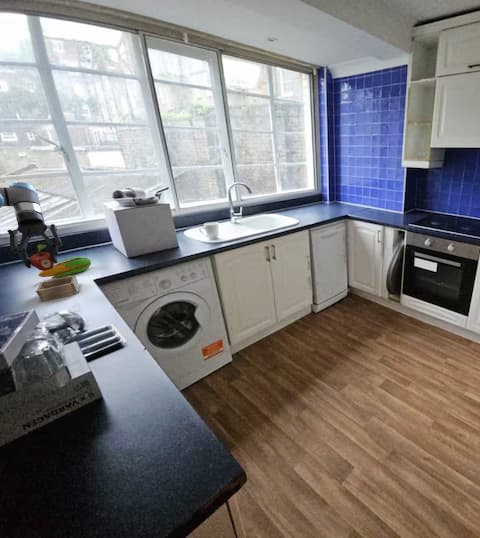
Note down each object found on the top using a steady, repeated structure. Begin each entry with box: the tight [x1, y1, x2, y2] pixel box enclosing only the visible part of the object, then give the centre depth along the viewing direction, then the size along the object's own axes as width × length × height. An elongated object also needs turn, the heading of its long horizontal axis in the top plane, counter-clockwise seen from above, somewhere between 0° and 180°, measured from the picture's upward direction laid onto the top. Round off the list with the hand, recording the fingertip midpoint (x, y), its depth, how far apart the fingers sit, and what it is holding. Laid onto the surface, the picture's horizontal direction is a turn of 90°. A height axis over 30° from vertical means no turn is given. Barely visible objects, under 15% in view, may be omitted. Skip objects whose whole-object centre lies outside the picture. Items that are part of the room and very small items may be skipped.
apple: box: [29, 244, 55, 272], centre depth 117 cm, size 8×7×10 cm
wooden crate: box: [35, 274, 80, 303], centre depth 125 cm, size 11×11×5 cm
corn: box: [38, 256, 92, 279], centre depth 143 cm, size 7×8×20 cm
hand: (41, 264), depth 115 cm, fingers closed on apple, 7 cm apart
